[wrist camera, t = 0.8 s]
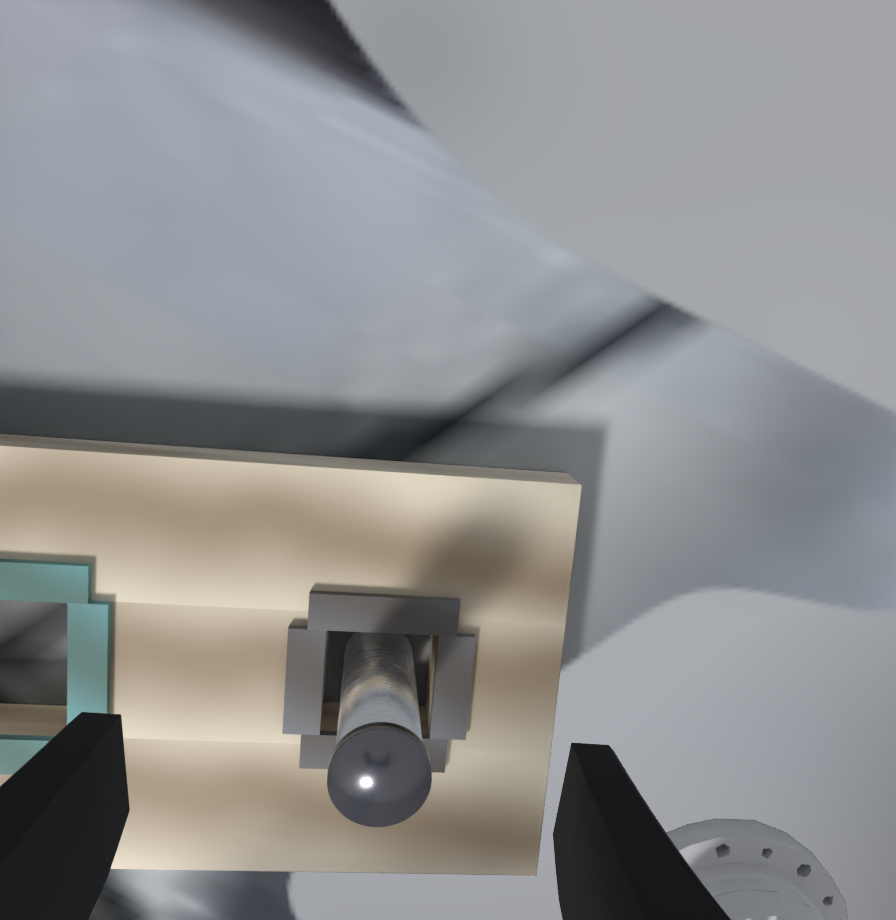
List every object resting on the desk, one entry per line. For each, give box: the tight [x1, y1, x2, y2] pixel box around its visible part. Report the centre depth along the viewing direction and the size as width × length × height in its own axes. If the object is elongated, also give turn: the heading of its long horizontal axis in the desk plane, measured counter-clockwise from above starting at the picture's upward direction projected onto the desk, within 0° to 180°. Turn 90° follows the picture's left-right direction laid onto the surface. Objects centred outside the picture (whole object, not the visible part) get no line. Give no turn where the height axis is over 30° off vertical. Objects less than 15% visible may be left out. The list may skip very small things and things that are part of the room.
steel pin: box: [327, 632, 432, 827], centre depth 24 cm, size 3×3×8 cm
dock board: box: [0, 434, 582, 876], centre depth 26 cm, size 14×24×2 cm, turn 85°
